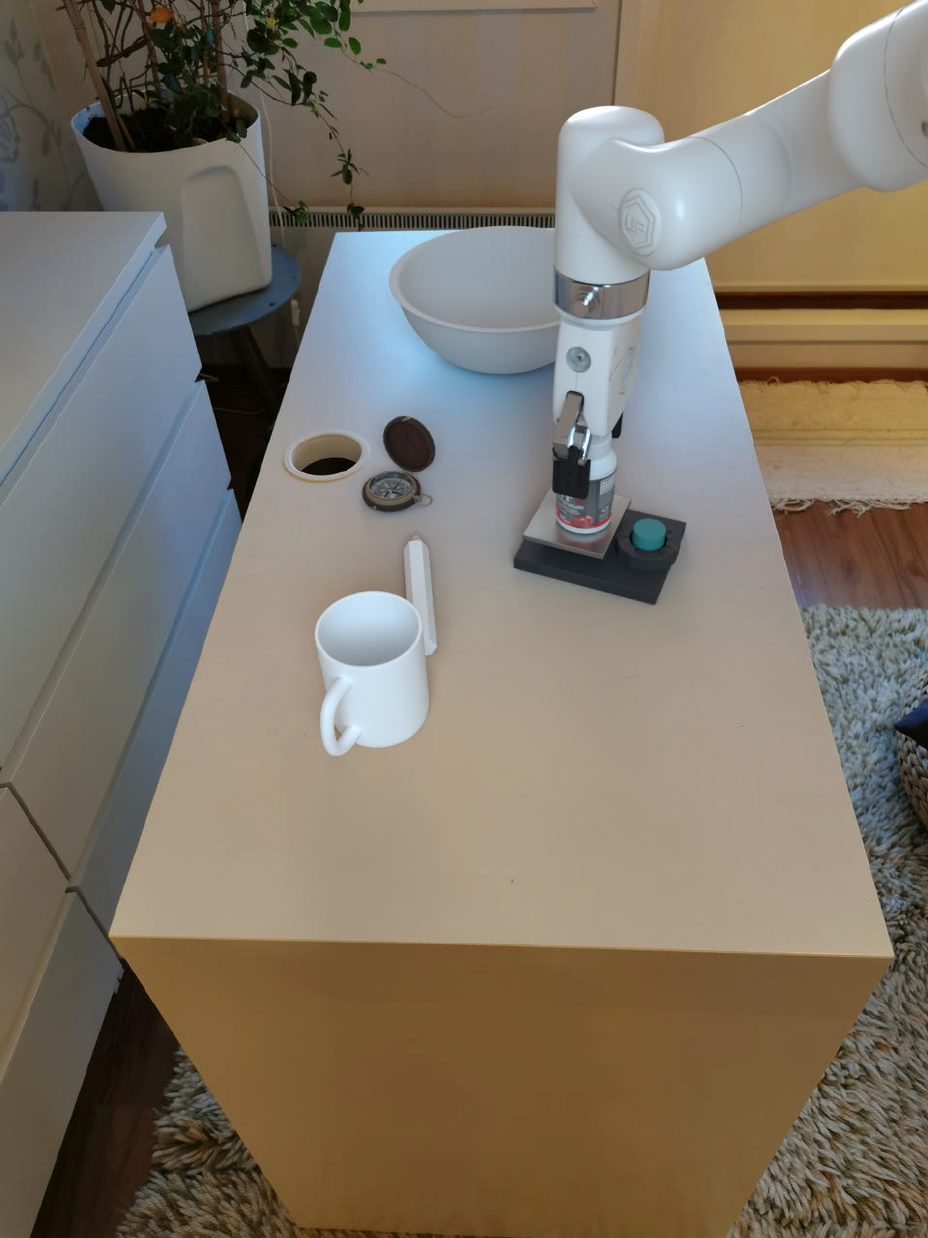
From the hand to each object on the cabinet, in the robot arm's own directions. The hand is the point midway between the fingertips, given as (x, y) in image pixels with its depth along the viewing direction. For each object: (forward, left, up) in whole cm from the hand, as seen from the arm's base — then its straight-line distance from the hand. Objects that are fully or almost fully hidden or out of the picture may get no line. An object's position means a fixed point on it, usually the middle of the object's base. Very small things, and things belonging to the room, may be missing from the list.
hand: (587, 463), depth 87 cm
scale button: (-7, 0, -7) cm, 10 cm away
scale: (-2, 0, -10) cm, 10 cm away
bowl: (+21, -32, -10) cm, 40 cm away
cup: (+9, +28, -10) cm, 31 cm away
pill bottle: (0, 0, -7) cm, 7 cm away
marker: (+12, +12, -10) cm, 20 cm away
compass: (+20, -1, -10) cm, 23 cm away
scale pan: (+1, 0, -7) cm, 7 cm away
